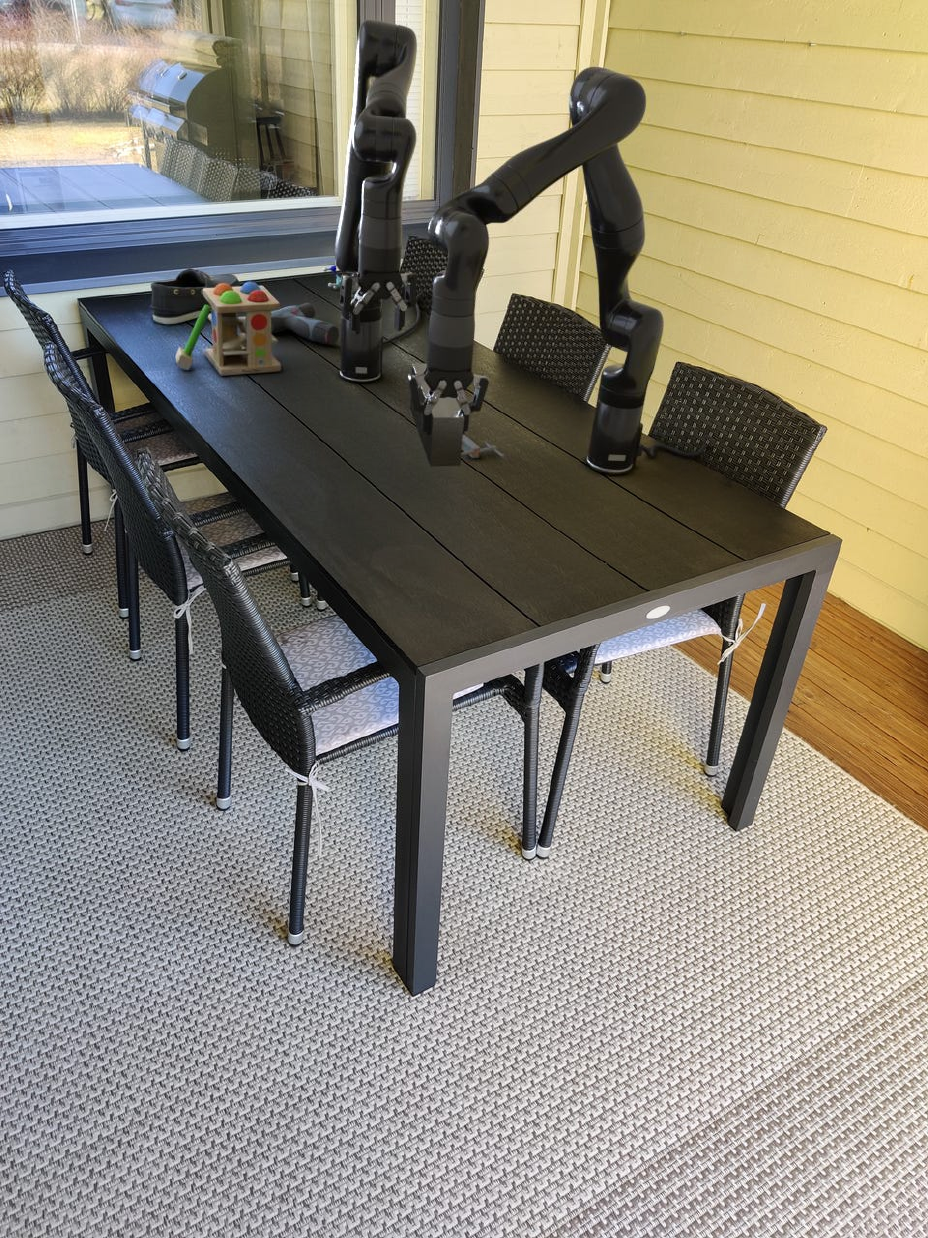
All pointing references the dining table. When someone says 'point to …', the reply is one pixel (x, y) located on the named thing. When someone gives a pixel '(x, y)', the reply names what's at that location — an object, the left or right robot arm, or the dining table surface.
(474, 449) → the clamp
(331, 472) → the dining table surface
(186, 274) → the boat shoe
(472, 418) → the dining table surface
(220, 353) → the pounding bench toy
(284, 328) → the power drill
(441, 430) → the bar
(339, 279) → the molecular model
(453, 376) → the right robot arm
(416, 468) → the dining table surface
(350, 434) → the dining table surface
